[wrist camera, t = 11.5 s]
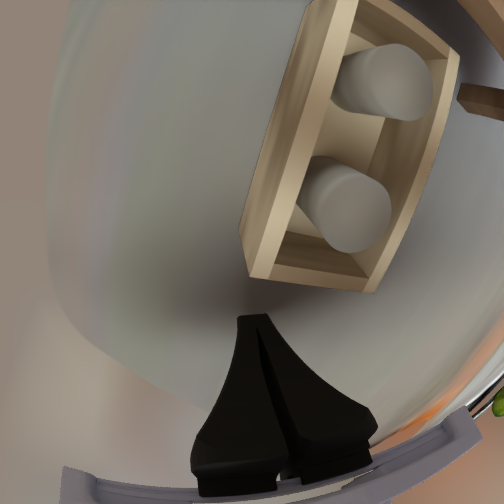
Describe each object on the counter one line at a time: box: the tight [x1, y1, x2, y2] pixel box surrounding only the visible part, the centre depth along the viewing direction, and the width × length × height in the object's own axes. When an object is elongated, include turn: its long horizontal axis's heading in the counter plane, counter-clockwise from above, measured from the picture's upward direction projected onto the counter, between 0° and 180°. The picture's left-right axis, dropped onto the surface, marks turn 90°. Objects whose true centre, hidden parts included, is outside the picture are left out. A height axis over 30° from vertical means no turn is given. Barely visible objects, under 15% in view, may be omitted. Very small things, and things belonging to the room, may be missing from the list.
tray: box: [238, 0, 460, 293], centre depth 8 cm, size 10×5×4 cm, turn 164°
